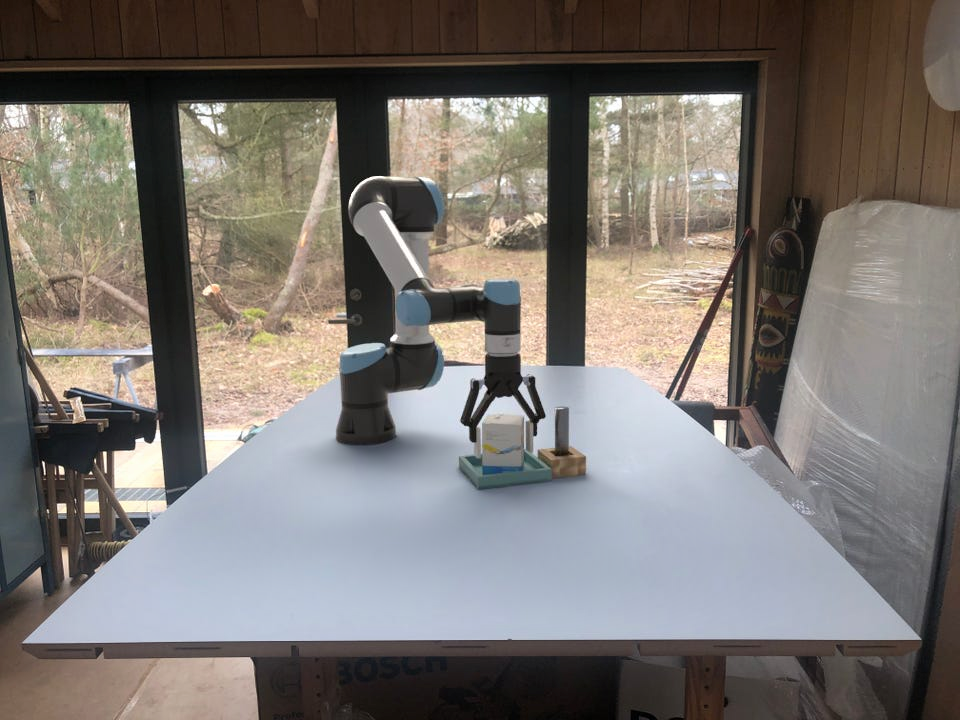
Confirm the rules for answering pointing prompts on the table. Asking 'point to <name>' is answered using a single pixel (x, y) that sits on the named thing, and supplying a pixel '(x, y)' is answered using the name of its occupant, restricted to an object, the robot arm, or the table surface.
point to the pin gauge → (561, 431)
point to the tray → (530, 474)
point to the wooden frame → (564, 462)
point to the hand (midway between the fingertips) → (503, 453)
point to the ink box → (502, 444)
